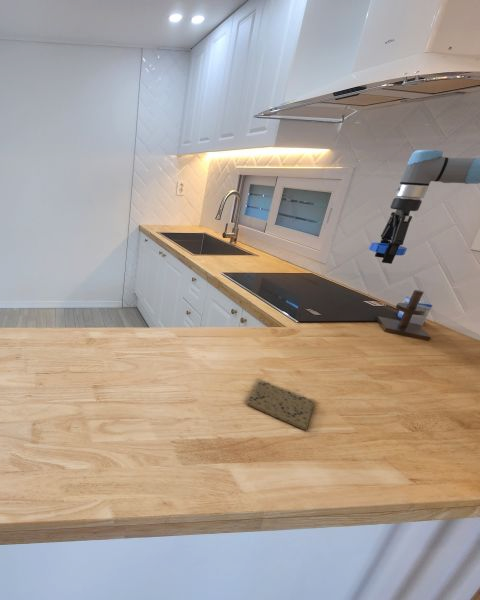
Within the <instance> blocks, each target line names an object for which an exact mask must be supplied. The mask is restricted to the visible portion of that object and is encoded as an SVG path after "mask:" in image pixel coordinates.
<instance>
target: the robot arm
mask: <svg viewBox="0 0 480 600" xmlns="http://www.w3.org/2000/svg"><path fill="white" fill-rule="evenodd" d="M443 154H444V151H443V150H441V149H440V150H439V149H418V150H414V151H413V152H412V153H411V155H410V157H409V160H408V162H407V164H406V165H405V168H404V172H403V174H402V176H401V179H400V182H399V185H398V187H397V186H396V188H395V191H396V192H395V197H394V198H393V200H392V202H391V204H390V209H392V210H395V211H392V212H390V216H389V217H388V220H387V222H386V225H385V226H384V229H383V231H382V232H381V235H380V239H381V240H380V242H379V243H386V244H388V248H387V250H386V253H385V254H383V253H378V252H375V253H374V254H375V255H374V257H375V258H381V259H382V260H381V263H382V264H389V265H391V264H393V262H394V260H395V257H396V256H397V255H396V252H397V250H398V248H399V246H403V245H404V241H405V238H406V236H407V232H408V229H409V226H410V223H411V221H412V219H413V216H412V215H410V214H411V212H418V211H419V209H420V207H421V205H422V202H423V201H422V200H421V199H425V196H426V194H427V191H428V189H429V186H430V183H431V182H437V183H439V182H440V183H443V184H465V185H470V184H471V185H473V184H475V185H479V184H480V157H447V156H443Z"/></svg>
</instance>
